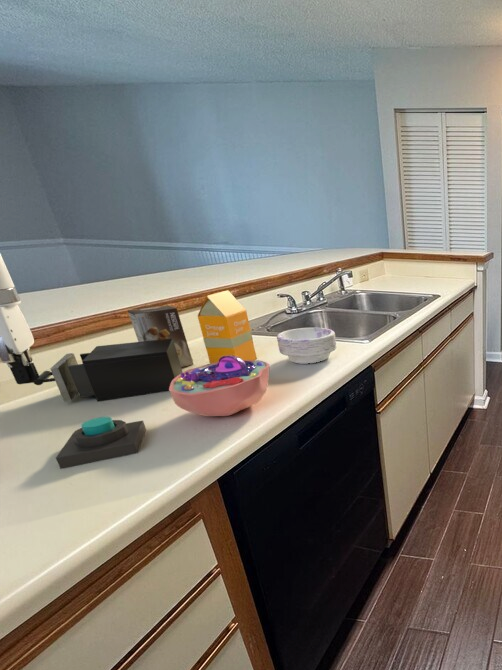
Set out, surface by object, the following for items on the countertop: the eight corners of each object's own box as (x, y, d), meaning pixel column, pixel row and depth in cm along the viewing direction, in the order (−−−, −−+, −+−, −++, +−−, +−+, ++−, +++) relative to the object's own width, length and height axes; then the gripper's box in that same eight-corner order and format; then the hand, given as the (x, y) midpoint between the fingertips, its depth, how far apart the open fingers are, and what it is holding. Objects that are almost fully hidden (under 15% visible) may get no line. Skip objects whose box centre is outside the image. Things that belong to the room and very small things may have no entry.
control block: (60, 469, 70) (51, 448, 69) (77, 442, 78) (69, 423, 76) (137, 453, 75) (130, 433, 74) (146, 430, 83) (140, 411, 81)
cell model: (154, 427, 84) (136, 374, 80) (229, 389, 102) (218, 344, 98) (230, 434, 82) (216, 380, 78) (294, 394, 100) (285, 348, 96)
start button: (81, 438, 73) (78, 429, 72) (88, 428, 76) (84, 419, 75) (112, 432, 75) (109, 423, 74) (117, 423, 78) (114, 415, 77)
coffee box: (185, 360, 121) (169, 304, 115) (194, 364, 117) (178, 307, 111) (146, 368, 114) (126, 309, 108) (153, 373, 111) (134, 313, 105)
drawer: (37, 406, 90) (21, 371, 87) (54, 387, 99) (41, 356, 96) (143, 390, 99) (132, 358, 96) (150, 375, 107) (141, 345, 105)
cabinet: (97, 401, 94) (81, 361, 91) (110, 383, 104) (96, 346, 101) (178, 389, 102) (166, 351, 98) (182, 373, 111) (172, 338, 108)
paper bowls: (347, 352, 130) (343, 327, 127) (321, 369, 116) (317, 341, 113) (300, 349, 132) (296, 325, 129) (269, 366, 118) (264, 338, 115)
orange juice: (257, 358, 123) (242, 289, 116) (238, 369, 115) (221, 295, 108) (230, 357, 123) (214, 289, 116) (210, 368, 115) (190, 294, 108)
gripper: (-19, 293, 89) (18, 374, 96) (-57, 307, 77) (-11, 397, 84) (31, 290, 93) (63, 368, 100) (2, 303, 81) (41, 390, 88)
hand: (29, 381), depth 92 cm, fingers closed
